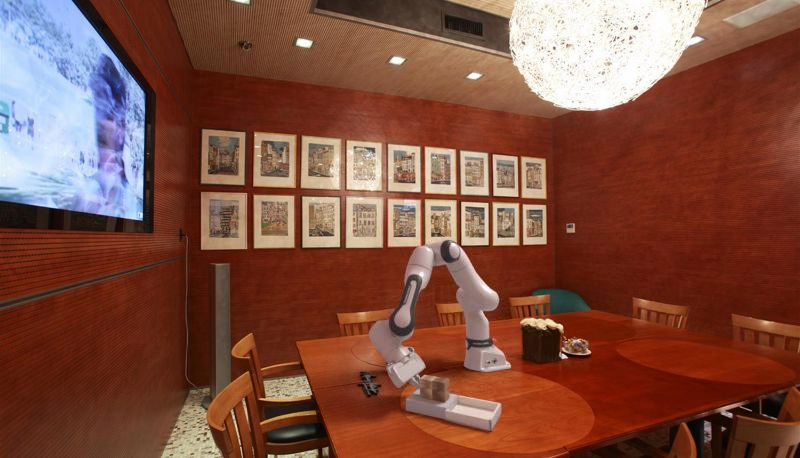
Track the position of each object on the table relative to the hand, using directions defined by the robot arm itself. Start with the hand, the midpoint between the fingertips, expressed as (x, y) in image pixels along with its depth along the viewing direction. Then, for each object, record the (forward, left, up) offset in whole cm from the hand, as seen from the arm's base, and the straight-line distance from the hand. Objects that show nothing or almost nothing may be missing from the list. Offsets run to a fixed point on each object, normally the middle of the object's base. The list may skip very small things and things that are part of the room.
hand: (420, 387), depth 141 cm
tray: (-16, +12, -7) cm, 22 cm away
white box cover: (-4, +3, -7) cm, 8 cm away
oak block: (-2, +2, -3) cm, 4 cm away
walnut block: (-6, +5, -3) cm, 9 cm away
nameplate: (+18, -25, -7) cm, 32 cm away
